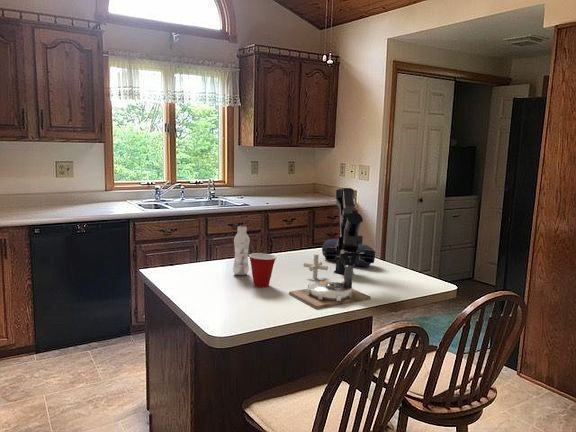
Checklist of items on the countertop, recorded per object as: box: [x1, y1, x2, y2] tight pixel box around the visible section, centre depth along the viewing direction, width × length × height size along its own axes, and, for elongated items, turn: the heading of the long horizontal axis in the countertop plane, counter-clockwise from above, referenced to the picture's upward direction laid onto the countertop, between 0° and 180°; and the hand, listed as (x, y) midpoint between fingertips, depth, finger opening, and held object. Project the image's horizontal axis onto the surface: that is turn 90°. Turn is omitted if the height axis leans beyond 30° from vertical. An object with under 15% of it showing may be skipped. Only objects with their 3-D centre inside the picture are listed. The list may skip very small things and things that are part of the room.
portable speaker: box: [321, 238, 374, 268], centre depth 225 cm, size 25×10×10 cm, turn 53°
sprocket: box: [306, 265, 354, 301], centre depth 174 cm, size 17×17×10 cm
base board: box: [288, 280, 371, 310], centre depth 174 cm, size 24×17×3 cm
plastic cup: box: [248, 252, 277, 288], centre depth 184 cm, size 11×11×12 cm
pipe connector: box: [303, 253, 329, 280], centre depth 197 cm, size 10×10×10 cm
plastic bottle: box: [232, 225, 251, 276], centre depth 196 cm, size 6×7×20 cm
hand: (348, 274), depth 179 cm, fingers closed
